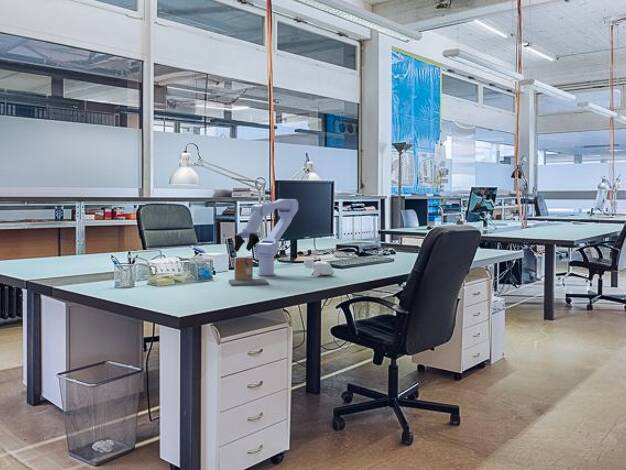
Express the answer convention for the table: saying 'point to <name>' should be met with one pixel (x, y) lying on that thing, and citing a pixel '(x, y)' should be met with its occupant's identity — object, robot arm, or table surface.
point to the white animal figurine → (319, 267)
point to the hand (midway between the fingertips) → (241, 250)
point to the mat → (248, 282)
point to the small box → (243, 268)
